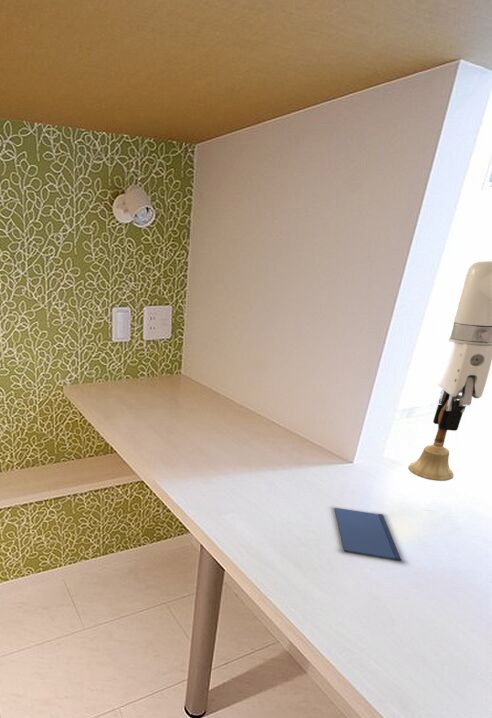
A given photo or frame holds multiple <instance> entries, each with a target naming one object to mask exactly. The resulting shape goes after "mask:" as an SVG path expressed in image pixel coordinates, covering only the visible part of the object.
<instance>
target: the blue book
mask: <svg viewBox="0 0 492 718" xmlns="http://www.w3.org/2000/svg"><path fill="white" fill-rule="evenodd" d="M334 512H335V516H336V521H337V525H338V530H339V534H340V539H341V543H342V547H343V551H344V552H347V553H353V554H360V555H366V556H372V557H377V558H384V559H389V560H395V561H401V562H402V558H401V555H400V553H399V551H398V548H397V546H396V542H395V540H394V538H393V536H392V533H391V531H390V528H389V526H388V523H387V520H386V518H385V516H384V514H383V513H374V512H373V513H372V512H367V511H366V512H365V511H359V510H353V509H346V508H338V507H334Z"/></svg>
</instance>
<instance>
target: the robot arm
mask: <svg viewBox="0 0 492 718" xmlns="http://www.w3.org/2000/svg"><path fill="white" fill-rule="evenodd" d="M447 341H448V342H450V343H449V345H448V347H447V350H446V353H445V356H444V358H443V362H442V364H441V367H440V371H439V375H438V379H437V384H438V386H439V387H440V390H441V391H440V395H439V399H438V404H437V407H436V411H435V414H434V417H433V420H432V423H433V424H434V425H438V418H439V414H440V411H441V409H442V408H443V406H444V405H445V404H446V402H447V400H448V404H447V408H446V410H443V414H442V417H441V420H440V423H439V429H441V430H447V431H454V432H456V431H457V430H458V429H459V426H460V424H461V423H460V422H461V420H462V417H463V414H464V413H465V410H466V407H468V406H471V404H472V399H473V398H474V399H480V398H481V397H482V396H483V394H484V391H485V387H486V384H487V380H488V377H489V372H490V369H491V365H492V260H490V261H489V260H487V261H478V262H474V263H473V264H471V266H469V268H468V270H467V273H466V275H465V279H464V281H463V285H462V289H461V292H460V296H459V299H458V302H457V306H456V309H455V313H454V316H453V320H452V323H451V327H450V330H449V333H448V337H447ZM454 401H455V402H454Z"/></svg>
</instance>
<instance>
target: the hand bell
mask: <svg viewBox="0 0 492 718" xmlns="http://www.w3.org/2000/svg"><path fill="white" fill-rule="evenodd" d="M454 402H455V401H454ZM447 404H448V400H447V402H446V404H445V405H444V406H443V408H442V409H441V411H440V414H439V418H438V424H437V432H436V435H435V438H434V439H433V440H434V442H433V443H432V444H431V445H430V444H429V445H426V446H424V448H423V451H422V453H421V455H420V456H419V458H418V459H416V460H415V461H413V462H411V463H410V464H409V465H408V467H407V468H408V469H407V470H409V472H410V473H411V474H413V475H414V476H416V477H419V478H422V479H426V480H429V481H436V482H446V481H451V480H453V478H454V472H453V470H451V468H450V465H449V458H450V457H449V456H450V450H449V449H448V448H446V447H445V446H444V445H445V440H446V437H447V432H448V430H441V429H439V423H440V420H441V417H442V414H443V410H446V408H447Z"/></svg>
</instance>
